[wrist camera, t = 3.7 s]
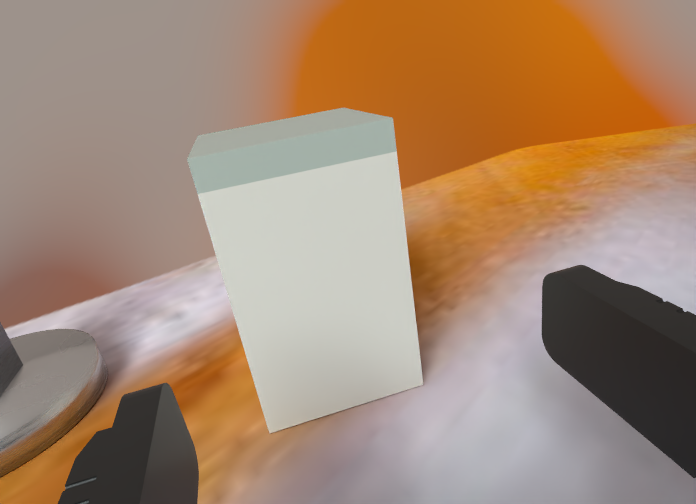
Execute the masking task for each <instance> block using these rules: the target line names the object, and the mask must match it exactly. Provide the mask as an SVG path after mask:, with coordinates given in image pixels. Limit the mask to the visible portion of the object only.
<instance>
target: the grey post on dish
mask: <svg viewBox="0 0 696 504" xmlns="http://www.w3.org/2000/svg"><path fill="white" fill-rule="evenodd" d="M107 376H108V371H107V367H106V365H105V362H104V360H103V358H102V356H101V354H100V351H99V349H98V347H97V345H96V343H95V340H94V339H93V338H92V336H90V335H89V334H88V333H85V332H83V331H79V330H74V329H55V330H46V331H40V332H35V333H30V334H26V335H22V336H18V337H15V338H11V339H9V338H8V336H7V334H6V332H5V330H4V328H3V327H2V325H1V323H0V477H1V476H3V475H5V474H7V473H9V472H10V471H12V470H14V469H16V468H18V467H19V466H21V465H22V464H24V463H26V462H27V461H29V460H30V459H32V458H34V457H35V456H37V455H38V454H39V453H41V452H42V451H44V450H45V449H47V448H48V447H49V446H51V445H52V444H53V443H55V442H56V441H57V440H58V439H60V438H61V437H62V436H63V435H65V434H66V433H67V432H68V431H69V430H70V429H71V428H73V427H74V426H75V425H76V424H77V423H78V422H79V421H80V420H81V419H82V418H83V417H84V416H85V415H86V414H87V413H88V411H89V410H90V409H91V408H92V406H93V405H94V404H95V403H96V401H97V400H98V398H99V397H100V395H101V393H102V391H103V389H104V387H105V385H106V381H107Z"/></svg>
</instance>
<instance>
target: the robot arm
mask: <svg viewBox="0 0 696 504" xmlns="http://www.w3.org/2000/svg"><path fill="white" fill-rule="evenodd" d="M542 339H543V343H544V346H545V348H546V350H547V352H548V354H549V355H550V357H551V358H552V359H553V360H554V361H555V362H556V363H557V364H558V365H559V366H561V367H562V368H563V369H564V370H565V371H566V372H568V373H569V374H570V375H571V376H572V377H574V378H575V379H576V380H577V381H578V382H580V383H581V384H582V385H583V386H584V387H586V388H587V389H588V390H589V391H590V392H592V393H593V394H594V395H595V396H596V397H598V398H599V399H600V400H601V401H602V402H604V403H605V404H606V405H607V406H608V407H610V408H611V409H612V410H613V411H614V412H616V413H617V414H618V415H619V416H620V417H621V418H623V419H624V420H625V421H626V422H627V423H629V424H630V425H631V426H632V427H633V428H635V429H636V430H637V431H638V432H639V433H641V434H642V435H643V436H644V437H645V438H647V439H648V440H649V441H650V442H651V443H653V444H654V445H655V446H656V447H657V448H659V449H660V450H661V451H662V452H663V453H665V454H666V455H667V456H668V457H669V458H671V459H672V460H673V461H674V462H675V463H676V464H678V465H679V466H680V467H681V468H682V469H684V470H685V471H686V472H687V473H688V474H690V475H691V476H692V477H693V478H696V315H694V314H692V313H690V312H688V311H687V312H684V311H683V309H682V308H680V307H678V306H676V305H674V304H672V303H670V302H668V301H666V302H664V301H663V299H662V298H660V297H658V296H656V295H654V294H652V293H650V292H648V291H645V290H643V289H641V288H639V287H636V286H632V285H629V284H625V283H621V282H617V281H615V280H613V279H611V278H609V277H607V276H605V275H603V274H601V273H599V272H597V271H595V270H593V269H591V268H589V267H587V266H584V265H578V266H574V267H571V268H567V269H564V270H560V271H557V272H553V273H550V274H548V275H546V277H545V278H544V280H543V287H542ZM198 480H199V471H198V462H197V456H196V451H195V447H194V444H193V441H192V439H191V436H190V434H189V431H188V429H187V426H186V423H185V421H184V418H183V416H182V413H181V411H180V408H179V406H178V403H177V401H176V398H175V396H174V393H173V391H172V389H171V387H170V386H169V384H168V383H163V384H160V385H156V386H153V387H149V388H146V389H142V390H139V391H135V392H132V393H128V394H125V395H123V397H122V398H121V401H120V404H119V407H118V410H117V414H116V417H115V420H114V423H113V426H112V428H108V429H105V430H101V431H98V432H96V434H95V435H94V436H93V437H92V439H91V440H90V441H89V442H88V443H87V445H86V446H85V447H84V448H83V450H82V451H81V452H80V453H79V455H78V456H77V457H76V458H75V461H74V464H73V466H72V469H71V471H70V474H69V477H68V479H67V482H66V484H65V487H66V490H65V491H63V492H62V495H61V497H60V500H59V502H58V504H197V498H198Z"/></svg>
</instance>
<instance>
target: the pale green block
mask: <svg viewBox="0 0 696 504" xmlns="http://www.w3.org/2000/svg"><path fill="white" fill-rule="evenodd" d="M187 160H188V163H189V167H190V170H191V173H192V177H193V180H194V183H195V186H196V190H197V193H198V197H199V200H200V203H201V207H202V210H203V213H204V217H205V220H206V223H207V227H208V230H209V233H210V236H211V240H212V243H213V247H214V250H215V253H216V257H217V260H218V263H219V267H220V270H221V273H222V277H223V280H224V283H225V287H226V290H227V293H228V297H229V300H230V303H231V307H232V310H233V313H234V317H235V320H236V323H237V327H238V330H239V333H240V337H241V340H242V343H243V347H244V350H245V353H246V357H247V360H248V363H249V367H250V370H251V373H252V377H253V380H254V383H255V387H256V390H257V393H258V397H259V400H260V403H261V407H262V410H263V413H264V417H265V420H266V423H267V427H268V430H269V433H273V432H276V431H279V430H282V429H285V428H288V427H291V426H295V425H298V424H301V423H304V422H307V421H310V420H313V419H317V418H320V417H323V416H326V415H329V414H332V413H336V412H339V411H342V410H345V409H348V408H351V407H354V406H358V405H361V404H364V403H367V402H370V401H373V400H376V399H380V398H383V397H386V396H389V395H392V394H395V393H399V392H402V391H405V390H408V389H411V388H414V387H417V386H421V385H423V377H422V368H421V359H420V351H419V342H418V333H417V325H416V316H415V307H414V299H413V290H412V281H411V273H410V264H409V255H408V246H407V238H406V229H405V220H404V212H403V203H402V194H401V186H400V177H399V169H398V160H397V151H396V143H395V134H394V126H393V118H391V117H386V116H381V115H376V114H371V113H366V112H361V111H357V110H351V109H347V108H340V109H334V110H329V111H324V112H319V113H314V114H308V115H303V116H298V117H293V118H287V119H283V120H277V121H272V122H267V123H261V124H256V125H251V126H246V127H241V128H236V129H230V130H225V131H220V132H214V133H209V134H204V135H199V136H198V137H197V139H196V141H195V143H194V146H193V148H192V150H191V152H190V154H189V156H188V158H187Z"/></svg>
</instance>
